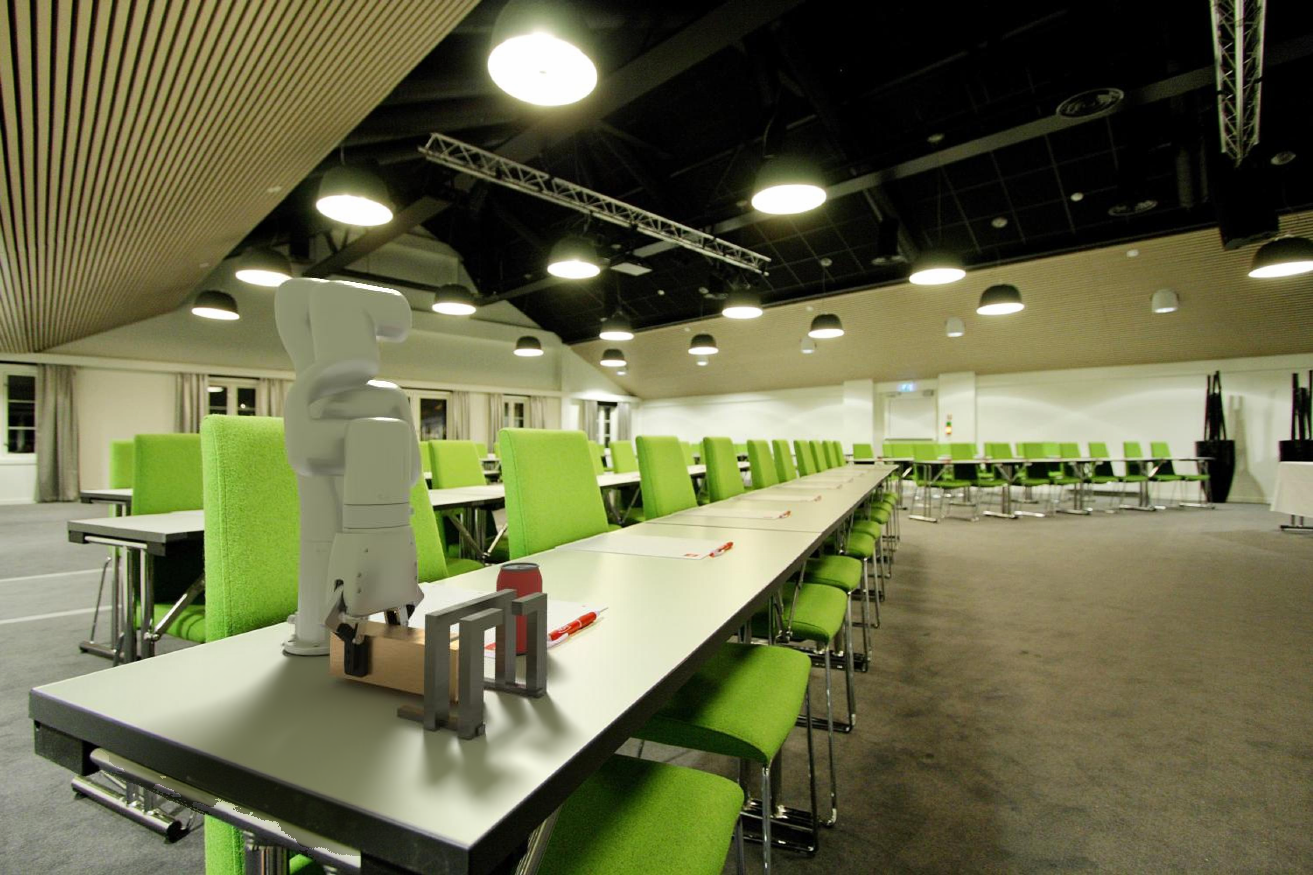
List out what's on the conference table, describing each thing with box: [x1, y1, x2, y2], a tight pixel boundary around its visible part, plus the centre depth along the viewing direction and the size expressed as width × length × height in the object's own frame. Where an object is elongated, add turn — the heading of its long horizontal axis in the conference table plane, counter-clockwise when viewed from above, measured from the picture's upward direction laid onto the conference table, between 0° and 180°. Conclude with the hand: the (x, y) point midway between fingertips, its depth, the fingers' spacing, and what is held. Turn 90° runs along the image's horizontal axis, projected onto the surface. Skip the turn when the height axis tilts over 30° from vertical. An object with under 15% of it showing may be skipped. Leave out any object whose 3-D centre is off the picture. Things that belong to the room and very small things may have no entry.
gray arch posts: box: [396, 589, 548, 741], centre depth 65 cm, size 11×13×12 cm
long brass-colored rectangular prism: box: [329, 620, 459, 703], centre depth 69 cm, size 20×4×6 cm, turn 66°
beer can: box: [495, 561, 544, 656], centre depth 84 cm, size 7×7×12 cm
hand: (374, 666), depth 71 cm, fingers closed on long brass-colored rectangular prism, 4 cm apart
